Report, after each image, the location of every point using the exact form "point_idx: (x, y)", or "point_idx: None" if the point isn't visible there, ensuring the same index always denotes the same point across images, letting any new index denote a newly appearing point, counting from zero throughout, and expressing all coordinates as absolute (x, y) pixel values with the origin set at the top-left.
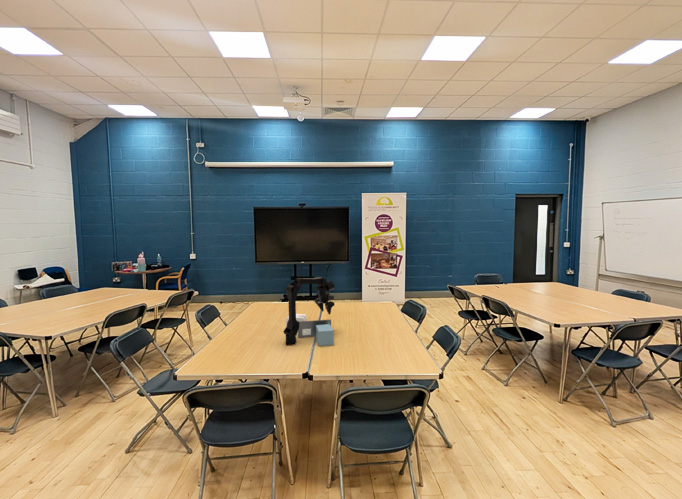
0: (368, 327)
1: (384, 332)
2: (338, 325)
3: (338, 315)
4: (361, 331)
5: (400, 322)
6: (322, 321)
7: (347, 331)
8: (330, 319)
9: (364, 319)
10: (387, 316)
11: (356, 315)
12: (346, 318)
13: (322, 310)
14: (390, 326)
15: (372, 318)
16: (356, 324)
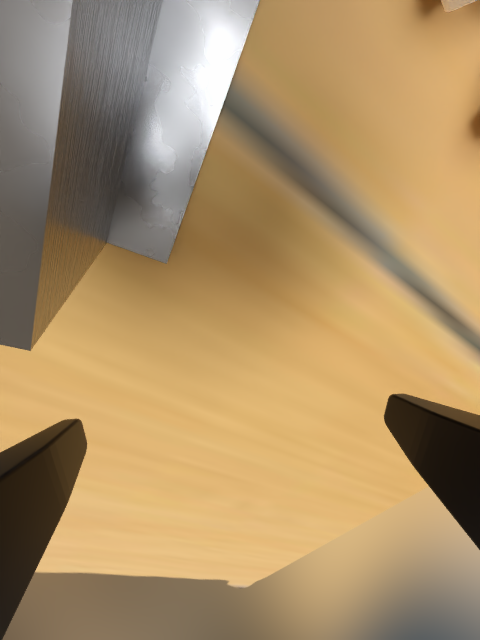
0: (147, 488)
1: None
2: (295, 395)
3: None
4: (95, 447)
5: (138, 570)
6: (8, 125)
7: (142, 389)
8: (24, 342)
9: (272, 507)
10: (237, 560)
11: (346, 501)
12: (353, 464)
13: (409, 421)
14: (106, 544)
15: (258, 527)
16: (234, 466)
